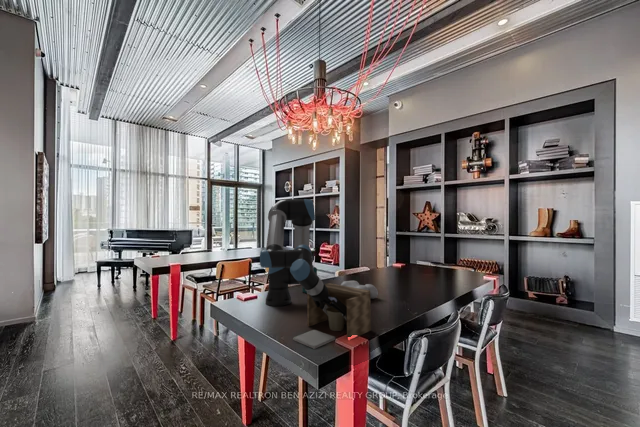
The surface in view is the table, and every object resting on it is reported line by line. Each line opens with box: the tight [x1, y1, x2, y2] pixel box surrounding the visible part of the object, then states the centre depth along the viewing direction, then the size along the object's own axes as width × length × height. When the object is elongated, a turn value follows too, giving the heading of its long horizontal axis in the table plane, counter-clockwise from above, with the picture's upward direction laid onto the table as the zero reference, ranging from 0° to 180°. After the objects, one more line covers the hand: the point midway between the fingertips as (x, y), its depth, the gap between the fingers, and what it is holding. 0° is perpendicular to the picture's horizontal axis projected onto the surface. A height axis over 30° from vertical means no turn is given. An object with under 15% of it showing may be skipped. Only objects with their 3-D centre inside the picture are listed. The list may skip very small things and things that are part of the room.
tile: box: [292, 329, 336, 350], centre depth 115 cm, size 12×12×1 cm
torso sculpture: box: [340, 280, 379, 300], centre depth 186 cm, size 16×11×30 cm
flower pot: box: [326, 307, 345, 332], centre depth 127 cm, size 9×9×9 cm
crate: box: [306, 282, 372, 338], centre depth 128 cm, size 15×24×17 cm, turn 46°
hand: (340, 317), depth 129 cm, fingers open, 11 cm apart
